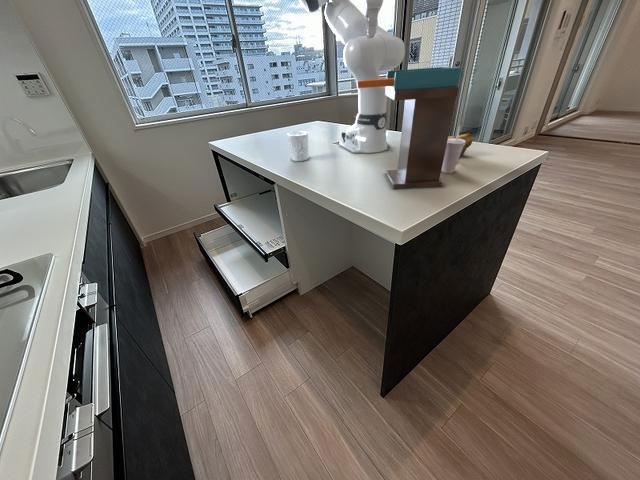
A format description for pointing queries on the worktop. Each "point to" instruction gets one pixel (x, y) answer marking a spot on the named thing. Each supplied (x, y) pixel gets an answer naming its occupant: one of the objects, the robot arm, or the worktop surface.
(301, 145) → the white cup
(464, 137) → the bread roll
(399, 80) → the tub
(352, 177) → the worktop surface
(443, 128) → the stand
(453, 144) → the smoothie
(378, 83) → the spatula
